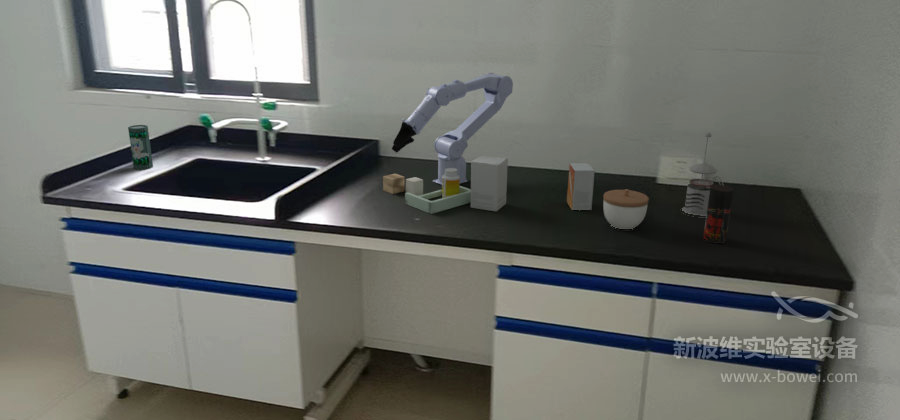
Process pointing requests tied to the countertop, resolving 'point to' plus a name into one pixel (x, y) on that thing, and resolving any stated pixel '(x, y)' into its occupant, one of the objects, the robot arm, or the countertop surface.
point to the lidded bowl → (625, 208)
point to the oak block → (393, 183)
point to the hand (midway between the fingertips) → (394, 147)
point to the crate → (439, 204)
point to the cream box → (414, 186)
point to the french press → (697, 185)
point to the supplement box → (488, 182)
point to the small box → (580, 186)
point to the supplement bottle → (450, 182)
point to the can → (140, 147)
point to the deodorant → (718, 213)
